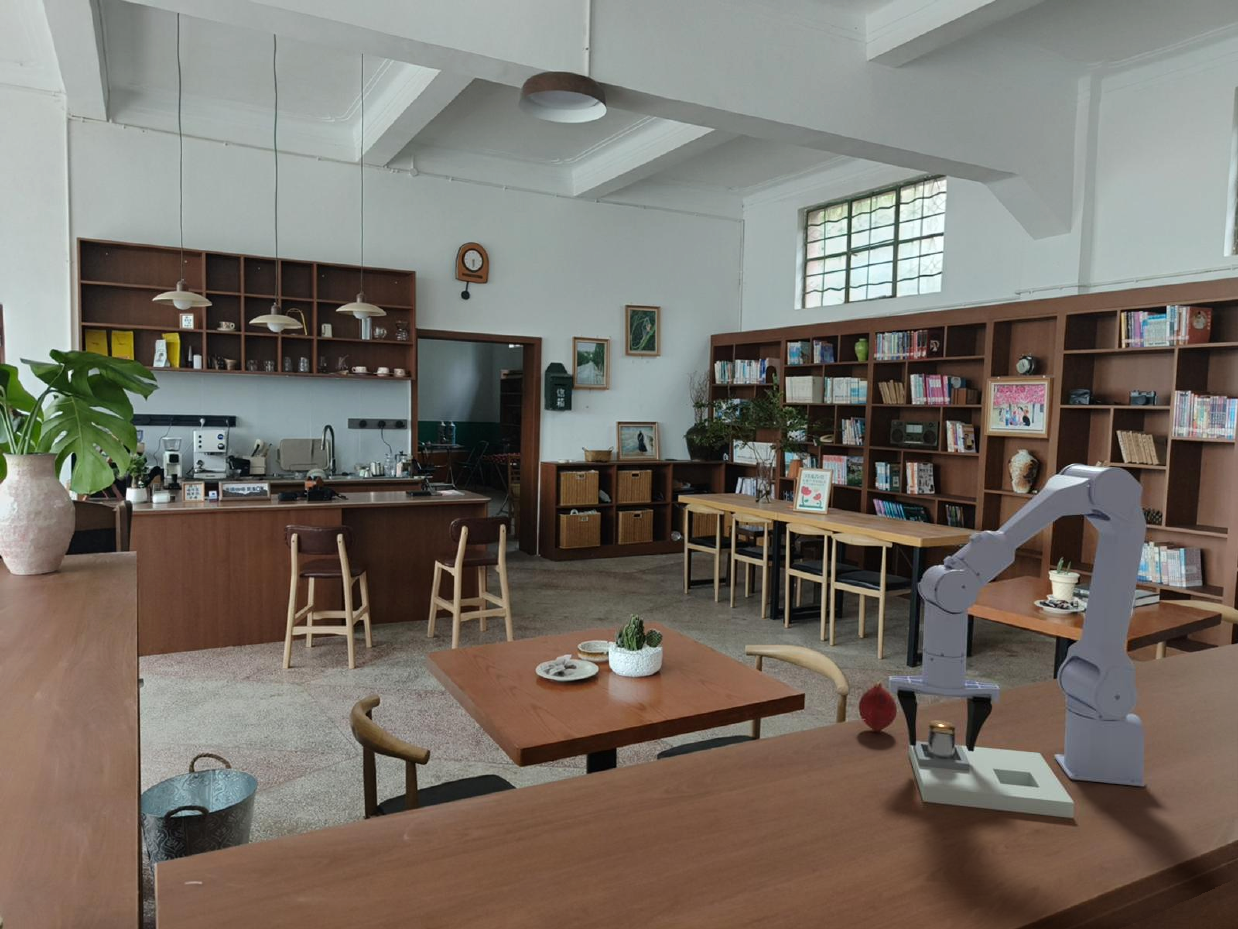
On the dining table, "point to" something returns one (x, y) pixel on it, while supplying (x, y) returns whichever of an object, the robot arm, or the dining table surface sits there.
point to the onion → (877, 708)
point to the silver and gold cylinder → (941, 740)
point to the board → (991, 780)
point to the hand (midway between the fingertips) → (940, 746)
